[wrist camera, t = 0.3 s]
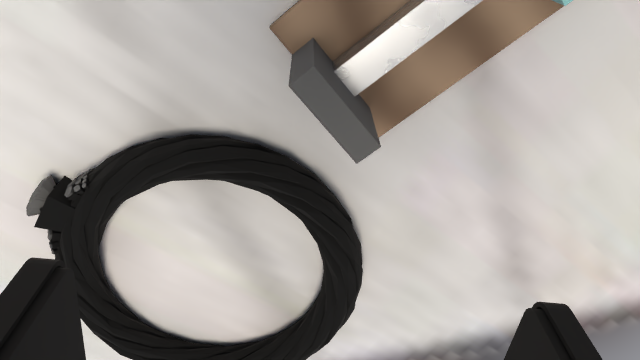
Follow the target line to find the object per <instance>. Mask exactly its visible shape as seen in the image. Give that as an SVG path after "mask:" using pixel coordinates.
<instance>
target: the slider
mask: <svg viewBox="0 0 640 360" xmlns="http://www.w3.org/2000/svg"><path fill="white" fill-rule="evenodd" d="M552 1H555V2H557V3H559V4H561V5H564V6H566V5H567V4H569V3H570V2H571V1H573V0H552Z"/></svg>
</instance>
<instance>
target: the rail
mask: <svg viewBox="0 0 640 360" xmlns="http://www.w3.org/2000/svg"><path fill="white" fill-rule="evenodd" d="M481 1H483V0H410V1H409V2H408V3H406V4H405V5H404V6H403V7H401V8H400V9H399V10H398V11H396V12H395V13H394V14H392V15H391V16H390V17H389V18H387V19H386V20H385V21H384V22H382V23H381V24H380V25H379V26H377V27H376V28H375V29H374V30H372V31H371V32H370V33H368V34H367V35H366V36H365V37H363V38H362V39H361V40H360V41H358V42H357V43H356V44H355V45H353V46H352V47H351V48H350V49H348V50H347V51H346V52H344V53H343V54H342V55H341V56H339V57H338V58H337V59H336V60H334V61H333V67H334V72H335V73H336V75H337V76H338V77H339V78H340V79H341V81H342V82H343V83H344V84H345V86H346V87H347V88H348V89H349V91H350V92H351V93H352V94H353V95H354V97H355V96H356V95H358V94H359V93H360V92H362V91H363V90H364V89H366V88H367V87H368V86H370V85H371V84H372V83H374V82H375V81H376V80H378V79H379V78H380V77H382V76H383V75H384V74H386V73H387V72H388V71H390V70H391V69H392V68H394V67H395V66H396V65H398V64H399V63H400V62H401V61H403V60H404V59H405V58H407V57H408V56H409V55H411V54H412V53H413V52H415V51H416V50H417V49H419V48H420V47H421V46H423V45H424V44H425V43H427V42H428V41H429V40H431V39H432V38H433V37H435V36H436V35H437V34H439V33H440V32H441V31H443V30H444V29H445V28H447V27H448V26H449V25H451V24H452V23H453V22H455V21H456V20H457V19H459V18H460V17H461V16H463V15H464V14H465V13H467V12H468V11H469V10H471V9H472V8H473V7H475V6H476V5H477V4H479V3H480V2H481Z"/></svg>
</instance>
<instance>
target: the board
mask: <svg viewBox="0 0 640 360" xmlns="http://www.w3.org/2000/svg"><path fill="white" fill-rule="evenodd" d="M409 1H410V0H299V1H298V2H297V3H296V4H295V5H294V6H292V7H291V8H290V9H289V10H288V11H287V12H285V13H284V14H283V15H282V16H281V17H280V18H278V19H277V20H276V21H275V22H274V23H273V24H271V25H270V29H271V30H272V31H273V33H274V34H275V35H276V36H277V37H278V39H279V40H280V41H281V42H282V43H283V44H284V46H285V47H286V48H287V49H288V50H289V52H290V53H291V54H292V55H293V54H294V53H295V52H296V51H297V50H299V49H300V48H301V47H302V46H303V45H305V44H306V43H307V42H308V41H310V40H311V39H312V38H314V39H315V40H316V42H317V43H318V44H319V45H320V47H321V48H322V49H323V50H324V52H325V53H326V54H327V55H328V56H329V58H330V59H331V60H332V61H334V60H336V59H337V58H338V57H339V56H341V55H342V54H343V53H344V52H346V51H347V50H348V49H350V48H351V47H352V46H353V45H355V44H356V43H357V42H358V41H360V40H361V39H362V38H363V37H365V36H366V35H367V34H368V33H370V32H371V31H372V30H374V29H375V28H376V27H377V26H379V25H380V24H381V23H382V22H384V21H385V20H386V19H387V18H389V17H390V16H391V15H392V14H394V13H395V12H396V11H398V10H399V9H400V8H401V7H403V6H404V5H405V4H406V3H408V2H409ZM563 6H564V5H561V4H559V3H557V2H555V1H552V0H483V1H481V2H480V3H479V4H477V5H476V6H475V7H473V8H472V9H471V10H469V11H468V12H467V13H465V14H464V15H463V16H461V17H460V18H459V19H457V20H456V21H455V22H453V23H452V24H451V25H449V26H448V27H447V28H445V29H444V30H443V31H441V32H440V33H439V34H437V35H436V36H435V37H433V38H432V39H431V40H429V41H428V42H427V43H425V44H424V45H423V46H421V47H420V48H419V49H417V50H416V51H415V52H413V53H412V54H411V55H409V56H408V57H407V58H405V59H404V60H403V61H401V62H400V63H399V64H398V65H396V66H395V67H394V68H392V69H391V70H390V71H388V72H387V73H386V74H384V75H383V76H382V77H380V78H379V79H378V80H376V81H375V82H374V83H372V84H371V85H370V86H368V87H367V88H366V89H364V90H363V91H362V92H360V93H359V95H360V96H361V97H362V99H363V100H364V101H365V102H366V104H367V105H368V106H369V107H370V110H371V113H372V117H373V120H374V124H375V128H376V131H377V135H378V138H379V137H380V136H382V135H383V134H384V133H386V132H387V131H389V130H390V129H391V128H393V127H394V126H396V125H397V124H398V123H400V122H401V121H403V120H404V119H405V118H407V117H408V116H410V115H411V114H413V113H414V112H415V111H417V110H418V109H420V108H421V107H422V106H424V105H425V104H427V103H428V102H429V101H431V100H432V99H434V98H435V97H436V96H438V95H439V94H441V93H442V92H443V91H445V90H446V89H448V88H449V87H451V86H452V85H453V84H455V83H456V82H458V81H459V80H460V79H462V78H463V77H465V76H466V75H467V74H469V73H470V72H472V71H473V70H474V69H476V68H477V67H479V66H480V65H481V64H483V63H484V62H486V61H487V60H488V59H490V58H491V57H493V56H494V55H496V54H497V53H498V52H500V51H501V50H503V49H504V48H505V47H507V46H508V45H510V44H511V43H512V42H514V41H515V40H517V39H518V38H519V37H521V36H522V35H524V34H525V33H526V32H528V31H529V30H531V29H532V28H534V27H535V26H536V25H538V24H539V23H541V22H542V21H543V20H545V19H546V18H548V17H549V16H550V15H552V14H553V13H555V12H556V11H557V10H559V9H560V8H562V7H563Z"/></svg>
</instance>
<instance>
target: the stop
mask: <svg viewBox="0 0 640 360" xmlns="http://www.w3.org/2000/svg"><path fill="white" fill-rule="evenodd" d="M289 87H290V88H291V89H292V90H293V91H294V93H295V94H296V95H297V96H298V97H299V98H300V99H301V101H302V102H303V103H304V104H305V105H306V106H307V108H308V109H309V110H310V111H311V112H312V113H313V114H314V116H315V117H316V118H317V119H318V120H319V121H320V122H321V124H322V125H323V126H324V127H325V128H326V129H327V130H328V132H329V133H330V134H331V135H332V136H333V137H334V138H335V140H336V141H337V142H338V143H339V144H340V145H341V146H342V148H343V149H344V150H345V151H346V152H347V153H348V154H349V156H350V157H351V158H352V159H353V160H354V161H355V163H356V164H357V163H359V162H360V161H361V160H363V159H364V158H366V157H367V156H368V155H370V154H371V153H373V152H374V151H376V150H377V149H378V148H380V147H381V145H380V142H379V138H378V135H377V131H376V128H375V124H374V120H373V117H372V113H371V110H370V107H369V106H368V105H367V104H366V102H365V101H364V100H363V99H362V97H361V96H360V95H359V94H358V95H356V96H355V97H354V95H353V94H352V93H351V92H350V91H349V89H348V88H347V87H346V86H345V84H344V83H343V82H342V81H341V79H340V78H339V77H338V76H337V75H336V73H335V72H334V67H333V61H332V60H331V59H330V58H329V56H328V55H327V54H326V53H325V52H324V50H323V49H322V48H321V47H320V45H319V44H318V43H317V42H316V40H315V39H314V38H312V39H311V40H310V41H308V42H307V43H306V44H305V45H303V46H302V47H301V48H300V49H299V50H297V51H296V52H295V53H294V54H293V55H292V61H291V70H290V79H289Z"/></svg>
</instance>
